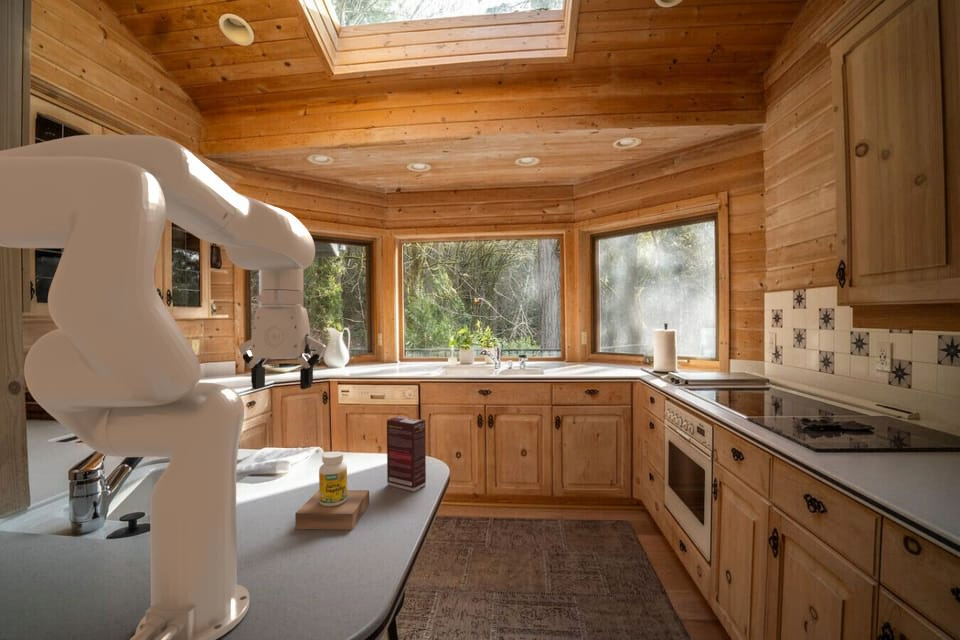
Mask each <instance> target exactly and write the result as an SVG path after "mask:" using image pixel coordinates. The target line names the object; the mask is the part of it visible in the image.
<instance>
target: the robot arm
mask: <svg viewBox="0 0 960 640" xmlns="http://www.w3.org/2000/svg"><path fill="white" fill-rule="evenodd" d="M166 220H167V221H169V222H171V223H173V224H174V225H176V226H178V227H180V228H181V229H183V230H185V231H186V232H188V233H189V234H190V235H193V236H195V237H196V238H198V239H200V240H202V241H204V242H207V243H210V244H214V245H215V244H216V245H220V246H224V247H225V253H226V255H227V257H228V259H229V260H230V262H232V264H233V265H235V266H236V267H238V268H239V269H243V270H247V271H248V270H249V271H261V273H260V275H261V280H260V282H261V285H260V286H261V287H260V289H261V291H260V294H259V295H256V296H255V301H256V302H257V303H260V307H257V308H256V310H255V314H254V318H253V323H252V329H251V338H250V339H249V340H247V341H244V342H243V343H241V344H240V345H238V350H239V352H240V354H241V355H242V359H243V361H244V362H245V363H246V364H247V366H248V368H250V370H251V376H250V377H251V378H250V380H251V381H250V382H251V389H252V390H255V389H260V388H261V389H262V388H264V387H265V386H266V367H265V366H263V365H264V364H265V362H266V361H268V360H291V359H292V360H293V359H297V361H298V362H299V363H300V364H301V365H302V367H301V368H300V371H299V372H300V373H299V376H300V378H299V383H300V384H299V387H300V389H301V390H306V389H310V388H311V387H312V384H313V381H314V368H315V367H316V365H317V363H319V362H320V361H321V360H322V358H323V355H324V353H325V351H326V349H327V345H326V344H324V342H320V341H319V340H317V339H315V338H313V337H311V326H310V319H309V315H308V311H307V310H308V309H307V307H304V270H305V269H307V268H309V267H310V266H311V265H312V263H313V262H314V260H315V257H316V246H315V242H314V239H313V237H312V235H311V234H310V232H309V230H308V228H307V227H306V226H305V225H304V223H302V222H301V221H300V220H299V218H297V217H295V216H294V215H293V214H292V213H290V212H288V211H286V210H284V209H281V208H280V207H276V206H274V205H271V204H269V203H266V202H263V201H261V200H259V199H256V198H253V197H250V196H248V195H244V194H242V193H239V192H237V191H235V190H234V189H233V188H232V187H231V186H230V185H229V184H228V183H226V182H225V181H224V180H223V179H221V178H220V177H219V176H218V175H217V174H215V172H213V171H212V170H211V169H210V168H209V167H208V166H207V165H206V164H205V163H203V162H202V161H201V160H200V159H199V158H198V157H197V156H195V154H193V153H192V152H191V151H190V150H188V149H187V148H186V147H185V146H183V145H181V144H180V143H178V142H177V141H174V140H172V139H171V138H167V137H164V136H163V137H162V136H159V135H158V136H157V135H151V134H150V135H147V134H81V135H80V134H79V135H73V136H66V137H61V138H57V139H51V140H47V141H43V142H37V143H33V144H29V145H24V146H19V147H18V146H17V147H13V148H9V149H4V150H0V247H1V248H2V247H3V248H12V249H63V251H62V254H61V257H60V259H59V262H58V265H57V268H56V271H55V273H54V276H53V279H52V281H51V284H50V287H49V289H48V296H47V307H48V312H49V315H50V317H51V319H52V321H53V323H54V325H56V327H57V328H56V329H54V330H51V331H49V332H48V333H45V334H44V335H42V336H40V337H39V338H38V339H37V340H36V341H35V342H34V344H32V345H31V347H30V349H29V350H28V353H27V354H26V357H25V359H24V360H25V361H24V366H23V367H24V368H23V370H24V371H23V373H24V380H25V383H26V386H27V389H28V391H29V393H30V395H31V397H32V398H33V400H35V402H36V403H37V404H38V405H39V406H40V407H41V408H43V410H45V411H46V413H48V414H49V415H50V416H51V417H52V418H54V419H55V420H56V421H57V422H58V423H60V424H61V425H62V426H63V427H64V428H66V430H68V431H69V432H70V433H72V434H73V435H74V437H76V438H78V439H79V440H80V441H82V443H84V444H85V445H86V446H87V447H89V448H90V449H92V450H93V451H95V452H97V453H99V454H101V455H104V456H108V457H115V458H153V457H154V458H155V457H157V458H167V459H169V464H168V465H167V467H166V469H164V471H163V473H162V474H161V475H160V477H159V478H158V479H157V481H156V483H155V484H154V486H153V488H152V491H151V494H150V499H149V500H150V501H149V517H150V518H149V519H150V520H149V521H150V523H149V525H150V526H149V527H150V534H149V536H150V540H149V541H150V542H149V543H150V607H149V608H148V609H146V610H145V615H144V616H143V617H142V618H141V620H140V621H139V622H138V625H137V626H136V629H135V633H134V635H133V636H132V637H131V638H130V639H129V640H218V639H219V638H221V637H223V636H224V635H226V634H227V633H228V632H230V631H231V630H233V628H235V627H236V626H237V625H238V624H240V622H241V621H243V618H244V617H246V614H247V612H248V611H249V607H250V604H251V602H250V601H251V598H250V597H251V595H250V593H249V590H248V589H247V588H246V587H245V586H243V585H241V584H238V577H237V576H238V575H237V573H238V572H237V570H238V566H237V565H238V561H237V558H238V555H237V553H238V552H237V548H238V547H237V545H238V544H237V543H238V541H237V540H238V539H237V535H238V534H237V533H238V532H237V531H238V530H237V528H238V527H237V517H238V516H237V513H238V512H237V466H238V454H239V447H240V442H241V440H240V439H241V435H242V429H243V425H244V420H245V404H244V401H243V399H242V397H241V396H240V394H239V393H238V392H237V391H235V389H233V388H231V387H229V386H227V385H225V384H224V385H223V384H220V383H212V382H200V380H201V372H202V371H201V365H200V361H199V358H198V355H197V354H196V352H195V350H194V349H193V347H192V345H191V344H190V342H189V341H188V339H187V337H186V336H185V334H184V333H183V331H182V330H181V328H180V327H179V325H178V324H177V322H176V321H175V319H174V317H173V315H171V313H170V311H169V310H168V308H167V306H166V305H165V304H164V301H163V300H162V298H161V296H160V295H159V292H158V291H157V290H158V289H157V288H156V284H155V267H156V261H157V257H158V251H159V248H160V243H161V240H162V236H163V232H164V229H165V226H166ZM311 348H314V350H315V351H314V354H313V355H310V354H311Z"/></svg>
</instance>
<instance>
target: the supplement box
mask: <svg viewBox="0 0 960 640" xmlns="http://www.w3.org/2000/svg"><path fill="white" fill-rule="evenodd" d="M426 446H427V445H426V420H425V419H421V418H419V419H418V418H414V417H406V416H400V415H399V416H395V417H392V418H388V419H386V459H387V460H386V468H387V469H386V470H387V471H386V474H387V475H386V476H387V477H386V479H387V480H386V483H387V486H391V487H395V488H398V489H402V490H407V491H410V492H416V491H418V490H420V489H422V488H424V487H425V486H426V484H427V481H426V480H427V479H426V478H427V471H426V470H427V469H426V467H427V466H426V465H427V464H426V463H427V462H426V453H427V452H426ZM423 486H424V487H423ZM421 487H422V488H421Z"/></svg>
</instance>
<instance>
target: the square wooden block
mask: <svg viewBox="0 0 960 640" xmlns="http://www.w3.org/2000/svg"><path fill="white" fill-rule="evenodd" d="M369 505H370V490H369V489H367V490H366V489H356V490H355V489H354V490H353V489H352V490H349V489H347V500H346V501H345V502H344V503H342V504H340V505H337V506H323V505H321V504H320V495H319V489H318V490H317V491H316V492H315V493H314V494H313V495H312V496H311V497H310V498H309V499H308V500H307V501H306V502H305V503H304V504H303V505H302V506H301V507H300V508H298V510H297V511H296V512H295V518H294V519H295V523H294V524H295V529H296V530H348V531H349V530H354V529H355V527H356V525H357V523H358V522H359V521H360V519H361V517H362V516H363V515H364V513H365V512H366V510H367V508H368V507H369Z"/></svg>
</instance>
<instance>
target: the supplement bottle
mask: <svg viewBox="0 0 960 640" xmlns="http://www.w3.org/2000/svg"><path fill="white" fill-rule="evenodd" d="M321 457H322V459H321V460H322V461H321V462H322V464H321V465H320V467H319V470H318V481H319V484H318V485H319V487H318V488H319V489H318V490H319V495H320V504H321V505H323V506H337V505H340V504H342V503H344V502H345V501H346V500H347V490H348V466H347V464H346V462H343V461H344V453H343V452H342V451H329V452H325V453H324V454H322V456H321Z"/></svg>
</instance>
